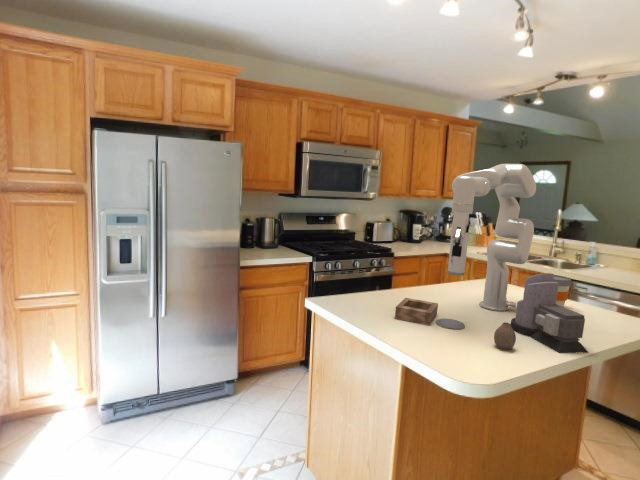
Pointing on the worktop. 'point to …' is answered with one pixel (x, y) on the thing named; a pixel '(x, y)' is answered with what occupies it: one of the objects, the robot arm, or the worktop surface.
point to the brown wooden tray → (416, 311)
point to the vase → (505, 337)
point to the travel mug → (458, 263)
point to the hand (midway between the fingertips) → (457, 254)
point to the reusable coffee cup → (562, 289)
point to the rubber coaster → (450, 324)
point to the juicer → (548, 316)
